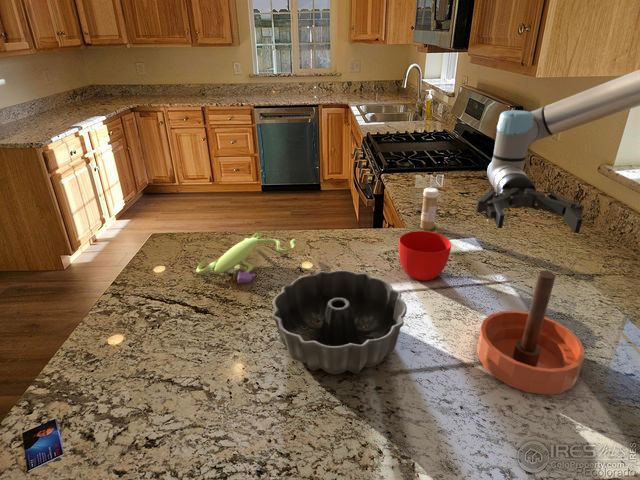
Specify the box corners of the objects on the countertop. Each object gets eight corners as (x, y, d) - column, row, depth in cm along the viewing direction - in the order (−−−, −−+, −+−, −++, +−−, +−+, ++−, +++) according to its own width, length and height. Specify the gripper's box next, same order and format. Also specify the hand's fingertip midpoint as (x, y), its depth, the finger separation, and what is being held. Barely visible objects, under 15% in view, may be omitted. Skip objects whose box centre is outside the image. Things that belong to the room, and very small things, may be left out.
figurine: (305, 256, 122) (305, 238, 120) (233, 296, 104) (231, 276, 101) (261, 238, 133) (260, 222, 131) (189, 272, 114) (186, 253, 112)
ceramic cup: (455, 264, 117) (461, 231, 113) (438, 293, 104) (442, 258, 100) (411, 253, 123) (414, 222, 119) (388, 280, 110) (391, 245, 106)
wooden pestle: (538, 356, 83) (562, 272, 74) (536, 370, 79) (560, 283, 71) (514, 349, 85) (534, 265, 76) (510, 362, 81) (531, 276, 73)
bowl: (577, 351, 85) (585, 327, 82) (573, 412, 71) (583, 385, 69) (486, 324, 93) (491, 301, 90) (467, 374, 80) (471, 349, 77)
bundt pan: (259, 383, 78) (255, 340, 73) (288, 302, 101) (286, 266, 97) (405, 398, 74) (410, 353, 70) (400, 310, 98) (404, 273, 94)
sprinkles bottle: (417, 226, 141) (421, 188, 135) (430, 225, 142) (434, 186, 136) (423, 232, 137) (428, 192, 131) (436, 230, 138) (441, 191, 132)
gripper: (568, 206, 98) (606, 246, 79) (456, 200, 102) (467, 237, 84) (576, 174, 95) (618, 209, 76) (460, 170, 99) (472, 201, 80)
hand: (539, 224), depth 80 cm, fingers open, 13 cm apart
